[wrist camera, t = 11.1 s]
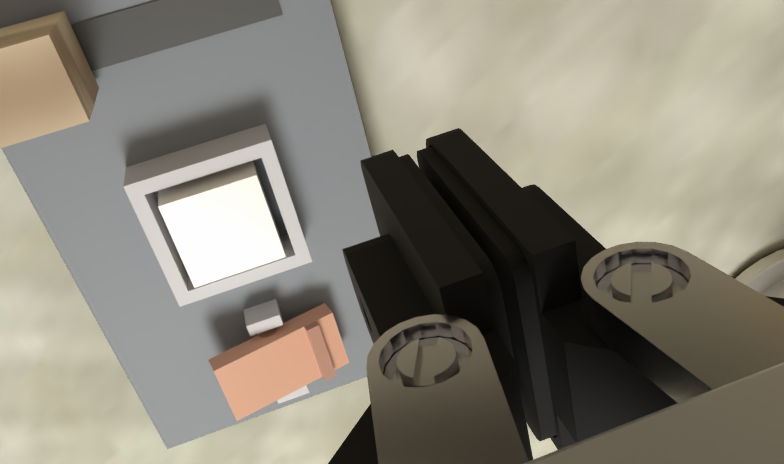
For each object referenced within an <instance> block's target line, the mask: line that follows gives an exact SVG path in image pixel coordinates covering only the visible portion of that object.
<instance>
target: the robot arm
mask: <svg viewBox="0 0 784 464" xmlns="http://www.w3.org/2000/svg"><path fill="white" fill-rule="evenodd" d="M417 159H418V164H419V167H418V166H417V165H416V163H415V162H414V161H413V159H412V158H411V157H410V156H409V155H408V154H407V155H404V156H401V157H398V156H397V154H396V153H395V152H394V151H393V150H391V151H388V152H385V153H382V154H379V155H376V156H372V157H369V158H366V159H363V160H361V161H360V163H361V169H362V173H363V177H364V180H365V184H366V187H367V191H368V194H369V198H370V202H371V205H372V209H373V212H374V216H375V220H376V223H377V227H378V230H379V234H380V237H377V238H374V239H371V240H368V241H365V242H362V243H359V244H356V245H353V246H350V247H347V248H344V249H342V250H343V255H344V259H345V262H346V265H347V268H348V272H349V275H350V278H351V281H352V284H353V287H354V291H355V294H356V297H357V300H358V303H359V306H360V309H361V312H362V314H363V317H364V320H365V323H366V326H367V328H368V331H369V334H370V336H371V339H372V341H373V346H372V348H371V350H370V352H369V354H368V356H367V366H366V370H367V378H368V386H369V394H370V401H371V404H370V406H369V407H368V408H367V410H366V411H365V413H364V414H363V415H362V417H361V418H360V420H359V421H358V422H357V424H356V425H355V427H354V428H353V429H352V431H351V432H350V434H349V435H348V436H347V438H346V439H345V441H344V442H343V443H342V445H341V446H340V448H339V449H338V450H337V452H336V453H335V455H334V456H333V458H332V459H331V460H330V462H329V463H328V464H784V249H781V250H778V251H776V252H774V253H772V254H770V255H768V256H766V257H764V258H762V259H760V260H759V261H757V262H756V263H754V264H753V265H751V266H750V267H748V268H747V269H745V270H744V271H743V272H742V273H741V274H740V275H739V276H737V277H736V278H735V279H734V278H732V277H731V276H729V275H727V274H725V273H724V272H722V271H720V270H718V269H717V268H715V267H713V266H712V265H710V264H708V263H706V262H705V261H703V260H701V259H699V258H698V257H696V256H694V255H692V254H691V253H689V252H687V251H685V250H682V249H680V248H677V247H675V246H673V245H667V244H662V243H657V242H633V243H627V244H620V245H617V246H614V247H611V248H608V249H605V248H604V247H603V246H602V245H601V244H600V243H599V242H598V241H597V240H596V239H595V238H594V237H592V236H591V235H590V234H589V233H588V232H587V231H586V230H585V229H584V228H583V227H582V226H580V225H579V224H578V223H577V222H576V221H575V220H574V219H573V218H572V217H571V216H570V215H569V214H567V213H566V212H565V211H564V210H563V209H562V208H561V207H560V206H559V205H558V204H557V203H556V202H554V201H553V200H552V199H551V198H550V197H549V196H548V195H547V194H546V193H545V192H544V191H542V190H541V189H540V188H539V187H537V186H536V185H529V186H526V187H523V188H521V187H520V186H519V185H518V184H517V183H516V182H515V181H514V180H513V179H512V178H511V177H510V176H509V175H508V174H507V173H506V172H504V171H503V170H502V169H501V168H500V167H499V166H498V165H497V164H496V163H495V162H494V161H493V160H492V159H491V158H490V157H489V156H488V155H487V154H486V153H485V152H484V151H483V150H482V149H481V148H480V147H479V146H478V145H477V144H476V143H475V142H474V141H472V140H471V139H470V138H469V137H468V136H467V135H466V134H465V133H464V132H463V131H462V130H461V129H459V128H458V129H455V130H452V131H449V132H446V133H443V134H440V135H437V136H434V137H430V138H428V139H426V148H425V149H422V150H419V151H417ZM419 168H420V169H419ZM526 422H527V424H528V426H529V427H530V429H531V430H532V432H533V434H534V435H535V437H536V438H537V439H538V440H539V441H542V440H545V439H547V438H551V440H552V441H553V443H554V444H555V446H556V447H557V449H558V450H557V451H554V452H552V453H549V454H547V455H544V456H541V457H539V458H536V459H534V460H533V457H532V451H531V446H530V440H529V435H528V429H527V424H526Z"/></svg>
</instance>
